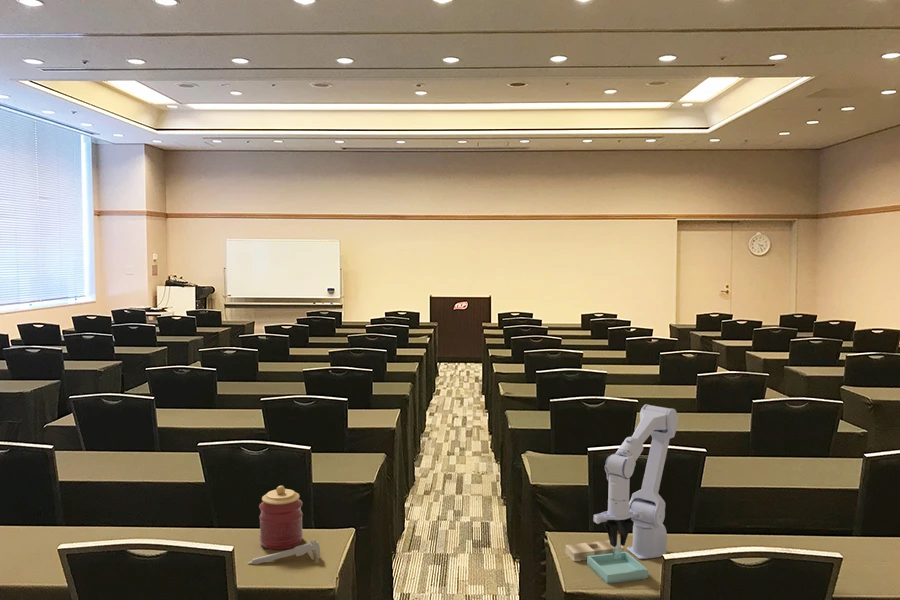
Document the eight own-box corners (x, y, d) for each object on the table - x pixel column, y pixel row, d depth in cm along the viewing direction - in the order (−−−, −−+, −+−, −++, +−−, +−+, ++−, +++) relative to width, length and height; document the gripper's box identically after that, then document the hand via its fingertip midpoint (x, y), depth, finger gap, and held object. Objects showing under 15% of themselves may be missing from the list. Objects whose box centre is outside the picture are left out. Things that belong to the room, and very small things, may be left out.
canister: (255, 550, 224) (254, 493, 222) (265, 533, 237) (264, 479, 235) (298, 550, 224) (298, 493, 223) (306, 533, 237) (305, 479, 236)
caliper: (321, 556, 219) (317, 537, 219) (322, 558, 218) (317, 538, 218) (251, 575, 216) (246, 556, 215) (251, 577, 215) (246, 557, 214)
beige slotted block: (613, 547, 227) (614, 539, 227) (623, 555, 222) (623, 547, 222) (565, 553, 223) (565, 545, 223) (573, 561, 217) (574, 553, 217)
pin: (618, 555, 212) (618, 529, 212) (622, 558, 210) (623, 532, 210) (611, 556, 212) (612, 530, 211) (615, 559, 210) (616, 533, 209)
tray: (625, 559, 219) (625, 551, 219) (647, 578, 207) (648, 569, 207) (586, 564, 216) (587, 556, 215) (607, 583, 204) (607, 575, 203)
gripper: (633, 490, 215) (632, 536, 217) (588, 495, 211) (587, 542, 212) (647, 498, 209) (645, 545, 210) (601, 504, 204) (600, 552, 205)
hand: (617, 544), depth 211 cm, fingers closed on pin, 2 cm apart
